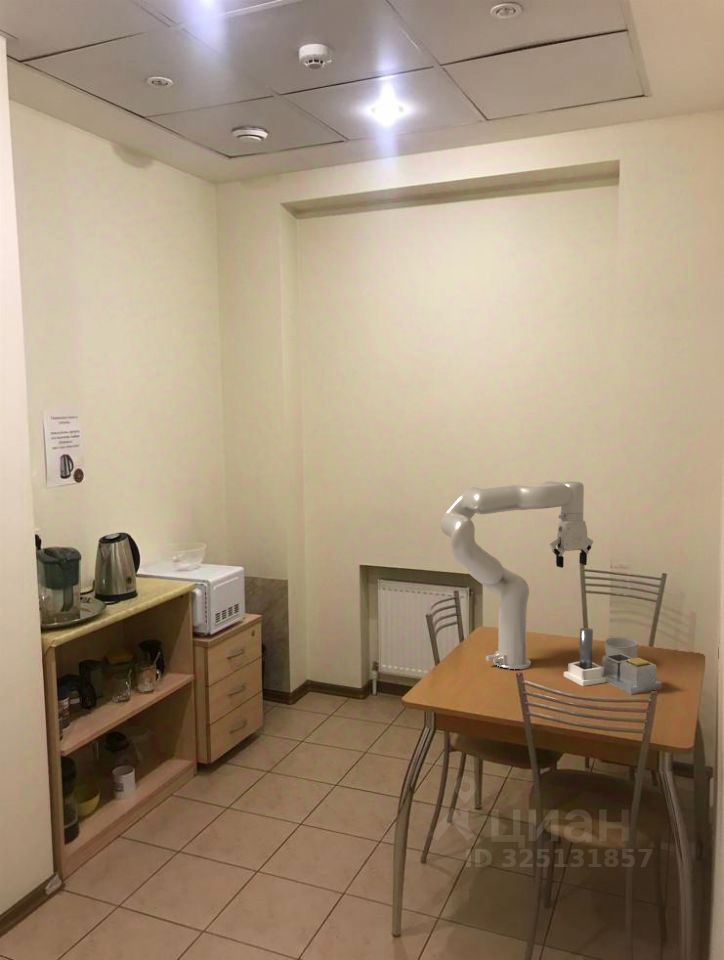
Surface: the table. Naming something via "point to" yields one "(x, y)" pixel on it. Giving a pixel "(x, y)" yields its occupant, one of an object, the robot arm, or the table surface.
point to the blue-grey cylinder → (586, 648)
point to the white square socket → (585, 674)
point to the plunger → (638, 662)
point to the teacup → (621, 646)
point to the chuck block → (629, 674)
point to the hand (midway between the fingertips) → (571, 565)
